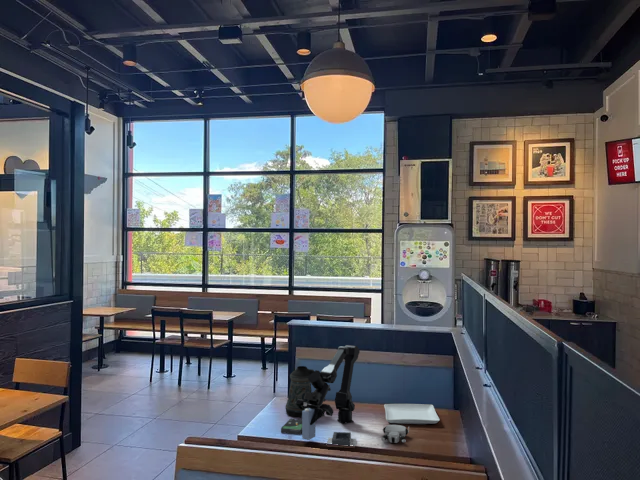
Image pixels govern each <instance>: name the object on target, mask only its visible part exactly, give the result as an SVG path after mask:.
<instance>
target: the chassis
mask: <svg viewBox="0 0 640 480" xmlns="http://www.w3.org/2000/svg"><path fill="white" fill-rule="evenodd" d="M327 443H332V444H338V445H348V446H350V445H353V446H357V438H352V432H347V431H346V432H345V431H344V432H343V431H342V432H341V431H333V434H332V437H328V439H327ZM327 443H326V444H327Z"/></svg>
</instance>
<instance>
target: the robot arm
mask: <svg viewBox="0 0 640 480" xmlns="http://www.w3.org/2000/svg"><path fill="white" fill-rule="evenodd" d="M359 355H360V348H359V346H357V345H350V344H345V346H338V347H337V351H336V352H335V354H334V355H333V358H332V359H331V361H330V362H329V364H328V365H327V366H324V368H323V369H321V371H319V370H318V369H314V371H315V372H313V373H311V374H310V375H309V377H308V379H309V381H310V383H311V386H312V387H313V388H314V389H315V390H314V391H315V392H314V391H311V392H312V393H310V392H306V393H305V397H304V399H307V400H308V402H309V404H308V403H306V401H305V400H302V399H298V400H297V401H296V403H295V404H296V405H297V406H298V408H299V409H300V410H305V409H308V408H311V409H315V412H314V415H313V417H312V419H311V422H310V425H312V424H313V423H315V424H316V422H317V421H318V420H320V418H323V417H325V414H326V416H328V417H333V414H334V409H333V407H331V405H330V404H327V403H324V402H326V396H327V394H328V392H331V391H332V389H331V387H330V384H334V383H335V382H336V379H337V376H338V373H337V372H338V370H339V368H340V366H341V364H342V363H343V361H344V363H343V372H342V378H341V383H340V384H341V385H340V389H339V391H336V392H335V397H334V404H335V405H334V406H335V408H336V410H338V413H337V421H338V422H339V423H341V424H342V425H344V424H351V423H354V422H355V421H354V420H353V412H354V411H355V407H356V405H355V403H354V402H353V401H352V399H353V396H352V393H351V387H352V386H351V385H352V378H353V371H354V366H355V362H356V361H357V360H358V358H359Z"/></svg>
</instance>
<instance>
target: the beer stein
mask: <svg viewBox="0 0 640 480" xmlns="http://www.w3.org/2000/svg"><path fill="white" fill-rule="evenodd" d="M313 372H315V369H311V368H310V369H309V368H308V367H307V366H305V365H301V366H300V365H299V366H296V369H295V370H293V371H292V372H291V373H290V374H289V379H290V384H289V391H288V397H287V401H286V404H285V405H284V407H285V413H286V415H287V416H290V417H296V418H302V411H304V410H300V409H299V408H298V406H297V405H296V404H295V403H296V401H297V400H298V399H302V400H305V401H306V403H308V404H309V402H308V400H307V399H304V397H305V393H306V392H310V393H312V392H315V390H312V384H311V383H310V381H309V379H308V377H309V375H310V374H311V373H313Z"/></svg>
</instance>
